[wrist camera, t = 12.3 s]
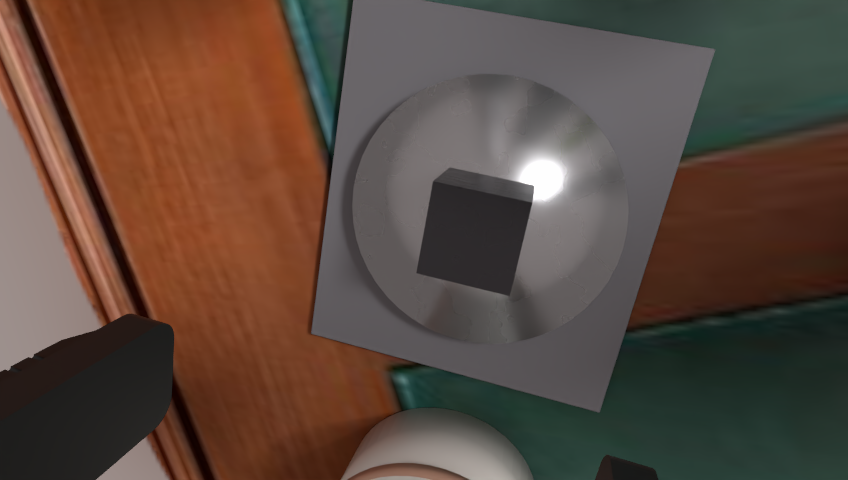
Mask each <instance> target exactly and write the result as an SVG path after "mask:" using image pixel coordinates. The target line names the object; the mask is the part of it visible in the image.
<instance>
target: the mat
mask: <svg viewBox="0 0 848 480" xmlns="http://www.w3.org/2000/svg"><path fill="white" fill-rule="evenodd" d="M714 52H715V49H710V48H704V47H698V46H692V45H686V44H680V43H674V42H668V41H662V40H656V39H650V38H644V37H639V36H633V35H627V34H621V33H615V32H609V31H603V30H597V29H591V28H585V27H579V26H573V25H567V24H561V23H555V22H549V21H543V20H537V19H531V18H525V17H519V16H513V15H507V14H501V13H495V12H489V11H483V10H477V9H471V8H465V7H459V6H453V5H447V4H441V3H435V2H429V1H423V0H353V7H352V15H351V23H350V31H349V39H348V47H347V55H346V63H345V71H344V78H343V86H342V94H341V102H340V110H339V118H338V126H337V134H336V142H335V150H334V158H333V165H332V173H331V181H330V189H329V197H328V205H327V213H326V221H325V229H324V237H323V245H322V252H321V260H320V268H319V276H318V284H317V292H316V300H315V308H314V316H313V324H312V332H311V334H314V335H318V336H322V337H325V338H329V339H332V340H336V341H340V342H343V343H347V344H351V345H354V346H358V347H362V348H365V349H369V350H373V351H376V352H380V353H384V354H387V355H391V356H395V357H398V358H402V359H406V360H409V361H413V362H416V363H420V364H424V365H427V366H431V367H435V368H438V369H442V370H446V371H449V372H453V373H457V374H460V375H464V376H468V377H471V378H475V379H479V380H482V381H486V382H490V383H493V384H497V385H501V386H504V387H508V388H511V389H515V390H519V391H522V392H526V393H530V394H533V395H537V396H541V397H544V398H548V399H552V400H555V401H559V402H563V403H566V404H570V405H574V406H577V407H581V408H585V409H588V410H592V411H595V412H600V409H601V406H602V403H603V400H604V397H605V394H606V390H607V387H608V384H609V381H610V378H611V375H612V372H613V369H614V365H615V362H616V359H617V356H618V353H619V350H620V347H621V343H622V340H623V337H624V334H625V331H626V328H627V325H628V321H629V318H630V315H631V312H632V309H633V306H634V303H635V300H636V296H637V293H638V290H639V287H640V284H641V281H642V278H643V274H644V271H645V268H646V265H647V262H648V259H649V256H650V252H651V249H652V246H653V243H654V240H655V237H656V234H657V231H658V227H659V224H660V221H661V218H662V215H663V212H664V209H665V205H666V202H667V199H668V196H669V193H670V190H671V187H672V184H673V180H674V177H675V174H676V171H677V168H678V165H679V162H680V158H681V155H682V152H683V149H684V146H685V143H686V140H687V136H688V133H689V130H690V127H691V124H692V121H693V118H694V115H695V111H696V108H697V105H698V102H699V99H700V96H701V93H702V89H703V86H704V83H705V80H706V77H707V74H708V71H709V67H710V64H711V61H712V58H713V55H714ZM474 74H499V75H508V76H515V77H519V78H523V79H527V80H531V81H534V82H536V83H539V84H541V85H544V86H546V87H549V88H551V89H553V90H554V91H556V92H558V93H560V94H561V95H563V96H565V97H566V98H568V99H569V100H571V101H572V102H573V103H574V104H576V105H577V106H578V107H579V108H581V109H582V110H583V111H584V112H585V113H586V114H587V115H588V116H589V117H590V118H591V119H592V120H593V121H594V122H595V123H596V124H597V126H598V127H599V128H600V130H601V131H602V132H603V134H604V135H605V137H606V138H607V139H608V141H609V143H610V145H611V147H612V148H613V150H614V152H615V154H616V156H617V158H618V161H619V164H620V167H621V169H622V172H623V175H624V180H625V184H626V189H627V195H628V211H629V213H628V226H627V234H626V238H625V242H624V247H623V250H622V253H621V256H620V258H619V261H618V264H617V266H616V268H615V270H614V272H613V273H612V275H611V277H610V279H609V281H608V282H607V284H606V285H605V286H604V288H603V289H602V291H601V292H600V293H599V295H598V296H597V297H596V298H595V299H594V300H593V301H592V302H591V303H590V304H589V305H588V306H587V307H586V308H585V309H584V310H583V311H582V312H580V313H579V314H578V315H577V316H575V317H574V318H573V319H572V320H570V321H568V322H567V323H565V324H563V325H562V326H560V327H558V328H557V329H554V330H552V331H550V332H547V333H545V334H543V335H540V336H537V337H534V338H530V339H527V340H523V341H517V342H511V343H498V344H486V343H474V342H468V341H463V340H458V339H455V338H452V337H449V336H446V335H442V334H440V333H438V332H436V331H433V330H431V329H429V328H427V327H425V326H423V325H422V324H420V323H418V322H417V321H415V320H414V319H412V318H411V317H409V316H408V315H407V314H405V313H404V312H403V311H402V310H400V309H399V308H398V307H397V306H396V305H395V304H394V303H393V302H392V301H391V300H390V299H389V298H388V297H387V296H386V295H385V293H384V292H383V291H382V290H381V288H380V287H379V286H378V285H377V283H376V282H375V280H374V278H373V277H372V275H371V273H370V272H369V270H368V268H367V266H366V264H365V262H364V259H363V257H362V255H361V252H360V249H359V246H358V243H357V240H356V235H355V229H354V224H353V210H352V201H353V188H354V183H355V178H356V174H357V170H358V167H359V164H360V161H361V158H362V156H363V154H364V152H365V150H366V148H367V146H368V144H369V142H370V140H371V138H372V137H373V135H374V134H375V132H376V131H377V129H378V128H379V126H380V125H381V124H382V123H383V122H384V121H385V120H386V118H387V117H388V116H389V115H390V114H391V113H392V112H393V111H394V110H395V109H397V108H398V107H399V106H400V105H401V104H402V103H404V102H405V101H406V100H408V99H409V98H411V97H412V96H414V95H415V94H417V93H419V92H420V91H422V90H424V89H426V88H428V87H430V86H433V85H435V84H437V83H440V82H443V81H446V80H449V79H453V78H456V77H462V76H468V75H474Z"/></svg>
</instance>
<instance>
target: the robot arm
mask: <svg viewBox="0 0 848 480" xmlns="http://www.w3.org/2000/svg"><path fill="white" fill-rule="evenodd" d="M173 352H174V332H173V329H172V327H171V326H170V325H169V324H166V323H162V322H159V321H156V320H152V319H149V318H145V317H142V316H139V315H135V314H126V315H124V316H122V317H120V318H118V319H116V320H114V321H113V322H111V323H109V324H107V325H105V326H103V327H101V328H100V329H98V330H96V331H92V332H89V333H85V334H82V335H78V336H75V337H71V338H67V339H64V340H61V341H59V342H57V343H55V344H53V345H51V346H49V347H47V348H45V349H44V350H42V351H40V352H38V353H36V354H34V357H33V358H29V357H28V358H26V359H24V360H22V361H21V362H19V363H17V364H15V365H13V366H11V369H10V370H9V371H7V370H3V371H1V372H0V480H96V479H97V478H98V477H99V476H100V475H102V474H103V473H104V472H105V471H106V470H107V469H109V468H110V467H111V466H112V465H113V464H115V463H116V462H117V461H118V460H119V459H120V458H121V457H123V456H124V455H125V454H126V453H127V452H128V451H130V450H131V449H132V448H133V447H134V446H135V445H137V444H138V443H139V442H140V441H141V440H142V439H144V438H145V437H146V436H147V435H148V434H149V433H151V432H152V431H153V430H154V429H155V428H156V427H157V426H158V425H159V424H160V422H161V421H162V419H163V418H164V416H165V414H166V412H167V410H168V408H169V405H170V402H171V396H172V377H173ZM595 480H658V478H657V474H656V471H655V470H654V469H653V468H650V467H647V466H643V465H640V464H637V463H633V462H630V461H626V460H623V459H620V458H616V457H613V456H609V455H606V456H605V457H604V458H603V460H602V462H601V464H600V467H599V470H598V473H597V476H596V479H595Z"/></svg>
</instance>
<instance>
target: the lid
mask: <svg viewBox="0 0 848 480" xmlns="http://www.w3.org/2000/svg"><path fill="white" fill-rule="evenodd" d="M352 210H353V224H354V229H355V235H356V240H357V243H358V246H359V249H360V252H361V255H362V257H363V259H364V262H365V264H366V266H367V268H368V270H369V272H370V273H371V275H372V277H373V278H374V280H375V282H376V283H377V285H378V286H379V287H380V288H381V290H382V291H383V292H384V293H385V295H386V296H387V297H388V298H389V299H390V300H391V301H392V302H393V303H394V304H395V305H396V306H397V307H398V308H399V309H400V310H402V311H403V312H404V313H405V314H407V315H408V316H409V317H411V318H412V319H414V320H415V321H417V322H418V323H420V324H422V325H423V326H425V327H427V328H429V329H431V330H433V331H436V332H438V333H440V334H442V335H446V336H449V337H452V338H455V339H458V340H463V341H468V342H474V343H486V344H498V343H511V342H517V341H523V340H527V339H530V338H534V337H537V336H540V335H543V334H545V333H547V332H550V331H552V330H554V329H557V328H558V327H560V326H562V325H563V324H565V323H567V322H568V321H570V320H572V319H573V318H574V317H575V316H577V315H578V314H579V313H580V312H582V311H583V310H584V309H585V308H586V307H587V306H588V305H589V304H590V303H591V302H592V301H593V300H594V299H595V298H596V297H597V296H598V295H599V293H600V292H601V291H602V289H603V288H604V286H605V285H606V284H607V282H608V281H609V279H610V277H611V275H612V273H613V272H614V270H615V268H616V266H617V264H618V261H619V258H620V256H621V253H622V250H623V247H624V242H625V238H626V234H627V226H628V213H629V211H628V195H627V189H626V184H625V180H624V175H623V172H622V169H621V167H620V164H619V161H618V158H617V156H616V154H615V152H614V150H613V148H612V147H611V145H610V143H609V141H608V139H607V138H606V137H605V135H604V134H603V132H602V131H601V130H600V128H599V127H598V126H597V124H596V123H595V122H594V121H593V120H592V119H591V118H590V117H589V116H588V115H587V114H586V113H585V112H584V111H583V110H582V109H581V108H579V107H578V106H577V105H576V104H574V103H573V102H572V101H571V100H569V99H568V98H566V97H565V96H563V95H561V94H560V93H558V92H556V91H554V90H553V89H551V88H549V87H546V86H544V85H541V84H539V83H536V82H534V81H531V80H527V79H523V78H519V77H515V76H508V75H499V74H474V75H468V76H462V77H456V78H453V79H449V80H446V81H443V82H440V83H437V84H435V85H433V86H430V87H428V88H426V89H424V90H422V91H420V92H419V93H417V94H415V95H414V96H412V97H411V98H409V99H408V100H406V101H405V102H404V103H402V104H401V105H400V106H399V107H398V108H397V109H395V110H394V111H393V112H392V113H391V114H390V115H389V116H388V117H387V118H386V120H385V121H384V122H383V123H382V124H381V125H380V126H379V128H378V129H377V131H376V132H375V134H374V135H373V137H372V138H371V140H370V142H369V144H368V146H367V148H366V150H365V152H364V154H363V156H362V158H361V161H360V164H359V167H358V170H357V174H356V178H355V183H354V188H353V201H352Z"/></svg>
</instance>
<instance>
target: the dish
mask: <svg viewBox="0 0 848 480" xmlns="http://www.w3.org/2000/svg"><path fill="white" fill-rule="evenodd" d="M341 480H534V479H533V476H532V473H531V471H530V469H529V466H528V465H527V463H526V461H525V460H524V458H523V456H522V455H521V454H520V452H519V451H518V450H517V448H516V447H515V446H514V445H513V444H512V443H511V442H510V441H509V440H508V439H507V438H506V437H505V436H504V435H503V434H501V433H500V432H499V431H497V430H496V429H495V428H493V427H492V426H490V425H488V424H487V423H485V422H484V421H481V420H479V419H477V418H475V417H473V416H471V415H468V414H465V413H462V412H459V411H454V410H450V409H444V408H416V409H409V410H405V411H402V412H398V413H396V414H394V415H391V416H389V417H387V418H385V419H384V420H382V421H381V422H379V423H378V424H377V425H375V426H374V427H373V428H372V429H371V430H370V431H369V432H368V433H367V434H366V436H365V437H364V438H363V440H362V441H361V443H360V445H359V446H358V448H357V450H356V452H355V454H354V456H353V458H352V460H351V462H350V463H349V465H348V467H347V469H346V471H345V473H344V475H343V477H342V478H341Z"/></svg>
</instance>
